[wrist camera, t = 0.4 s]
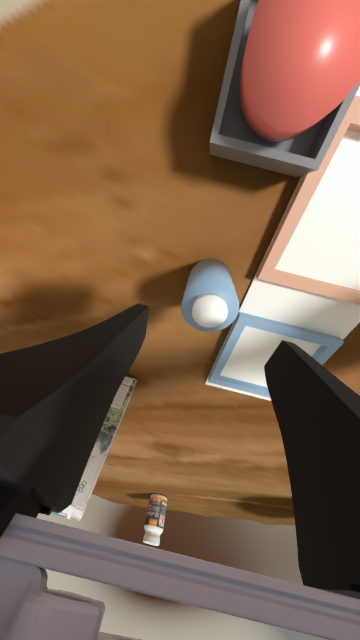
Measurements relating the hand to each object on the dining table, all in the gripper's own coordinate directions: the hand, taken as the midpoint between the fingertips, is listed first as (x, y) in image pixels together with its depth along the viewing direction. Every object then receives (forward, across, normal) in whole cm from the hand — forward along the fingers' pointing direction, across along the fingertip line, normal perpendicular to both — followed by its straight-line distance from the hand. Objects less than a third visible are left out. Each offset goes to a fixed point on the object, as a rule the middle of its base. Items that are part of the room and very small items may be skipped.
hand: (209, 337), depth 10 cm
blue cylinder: (+9, 0, 0) cm, 9 cm away
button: (+7, -1, -12) cm, 14 cm away
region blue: (+9, -10, +8) cm, 16 cm away
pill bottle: (+10, -6, +75) cm, 76 cm away
